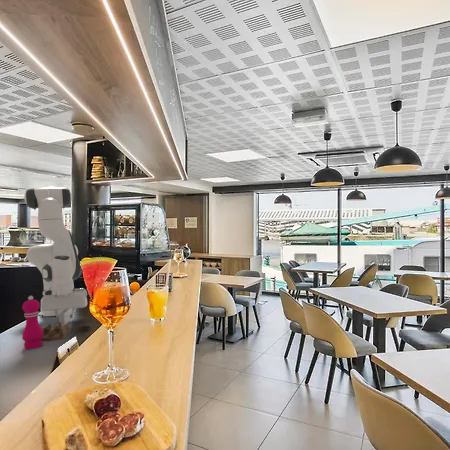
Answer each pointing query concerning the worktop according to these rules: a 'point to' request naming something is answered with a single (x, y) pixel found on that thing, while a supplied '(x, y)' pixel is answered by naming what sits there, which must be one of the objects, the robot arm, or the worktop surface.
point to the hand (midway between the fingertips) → (65, 318)
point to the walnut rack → (56, 331)
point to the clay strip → (65, 317)
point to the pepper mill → (32, 324)
